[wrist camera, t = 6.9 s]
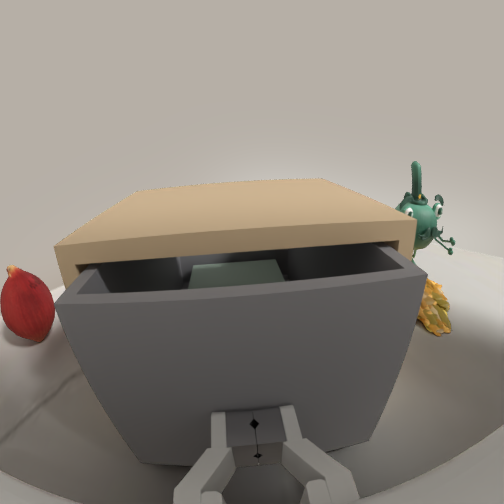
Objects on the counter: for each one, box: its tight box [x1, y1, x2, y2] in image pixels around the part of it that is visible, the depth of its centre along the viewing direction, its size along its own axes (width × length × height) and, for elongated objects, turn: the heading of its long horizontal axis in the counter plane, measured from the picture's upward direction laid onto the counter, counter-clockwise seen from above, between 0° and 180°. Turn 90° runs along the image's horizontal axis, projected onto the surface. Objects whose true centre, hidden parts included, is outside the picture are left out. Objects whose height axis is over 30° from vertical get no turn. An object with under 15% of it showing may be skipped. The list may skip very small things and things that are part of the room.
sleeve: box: [54, 179, 417, 289], centre depth 17 cm, size 12×14×12 cm
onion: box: [0, 265, 55, 342], centre depth 20 cm, size 6×6×8 cm
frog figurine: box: [395, 161, 455, 337], centre depth 25 cm, size 10×18×15 cm, turn 7°
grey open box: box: [54, 241, 428, 466], centre depth 19 cm, size 20×12×10 cm, turn 5°
